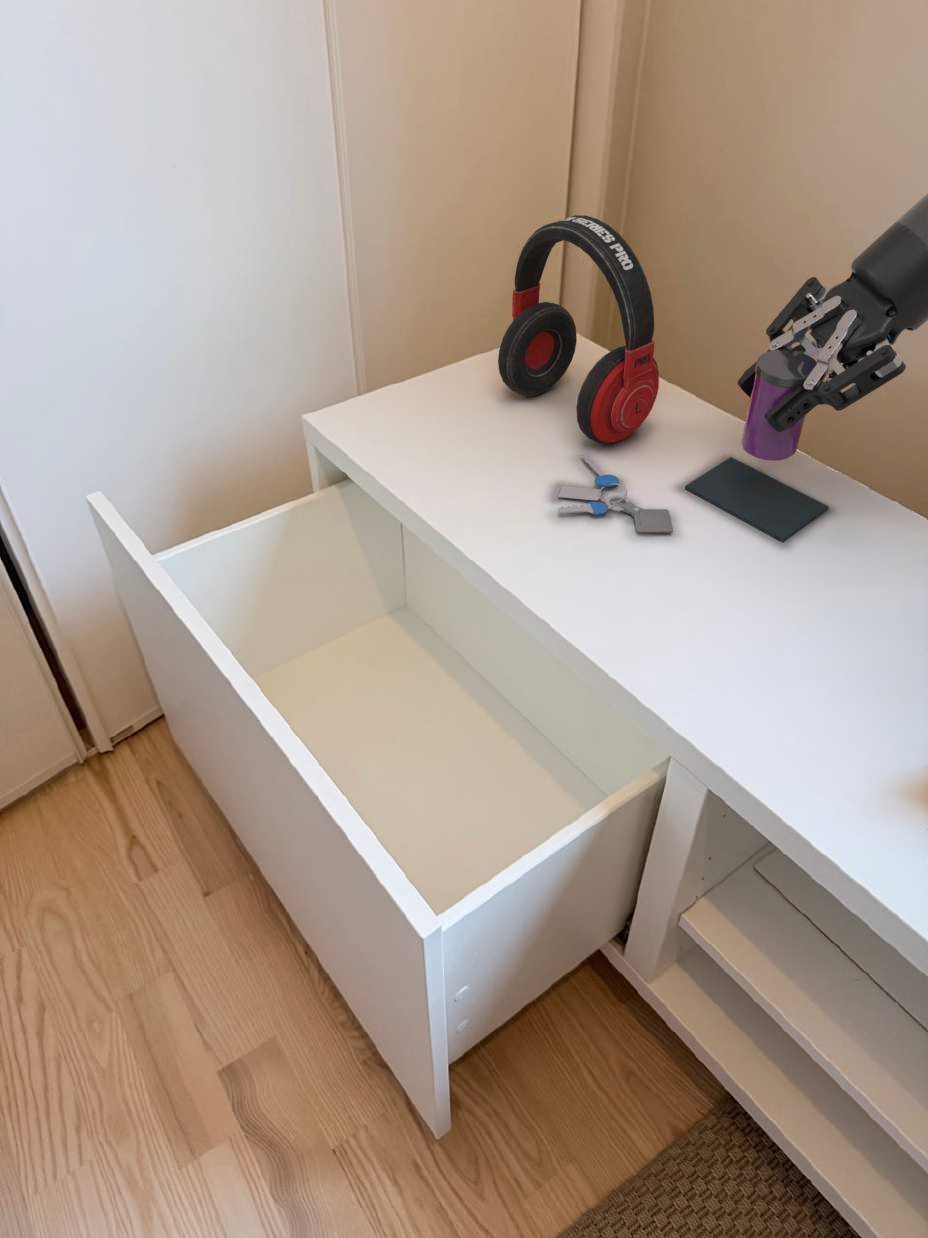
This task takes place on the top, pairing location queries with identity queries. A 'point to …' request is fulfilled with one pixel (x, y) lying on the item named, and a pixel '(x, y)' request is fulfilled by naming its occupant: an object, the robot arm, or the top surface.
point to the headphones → (548, 336)
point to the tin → (774, 403)
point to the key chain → (643, 517)
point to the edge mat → (757, 499)
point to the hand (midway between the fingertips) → (757, 407)
